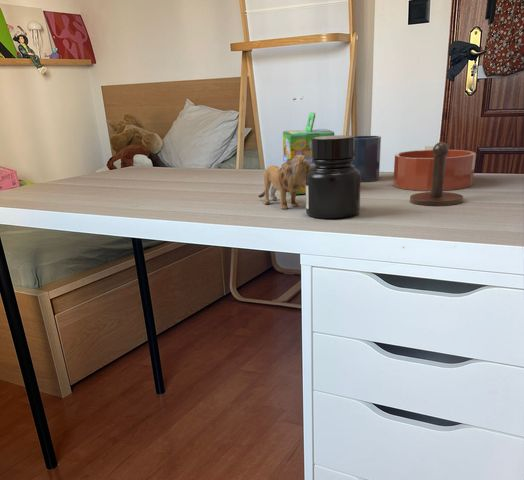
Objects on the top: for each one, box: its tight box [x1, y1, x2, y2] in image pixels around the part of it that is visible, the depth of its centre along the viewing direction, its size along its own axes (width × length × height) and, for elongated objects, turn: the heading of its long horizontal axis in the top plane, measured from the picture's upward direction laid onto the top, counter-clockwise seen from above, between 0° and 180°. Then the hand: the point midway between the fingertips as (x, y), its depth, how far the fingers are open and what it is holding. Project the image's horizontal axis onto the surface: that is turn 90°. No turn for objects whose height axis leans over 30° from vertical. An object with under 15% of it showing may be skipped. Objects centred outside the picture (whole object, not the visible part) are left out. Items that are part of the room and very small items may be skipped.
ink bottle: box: [305, 134, 362, 219], centre depth 86 cm, size 10×9×12 cm
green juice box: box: [282, 112, 336, 195], centre depth 107 cm, size 9×9×15 cm
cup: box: [351, 135, 382, 183], centre depth 118 cm, size 8×8×9 cm
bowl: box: [392, 145, 477, 192], centre depth 111 cm, size 16×23×6 cm
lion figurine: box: [258, 155, 312, 210], centre depth 96 cm, size 15×5×9 cm, turn 36°
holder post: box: [409, 141, 464, 207], centre depth 92 cm, size 9×9×10 cm
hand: (518, 21), depth 97 cm, fingers open, 9 cm apart
